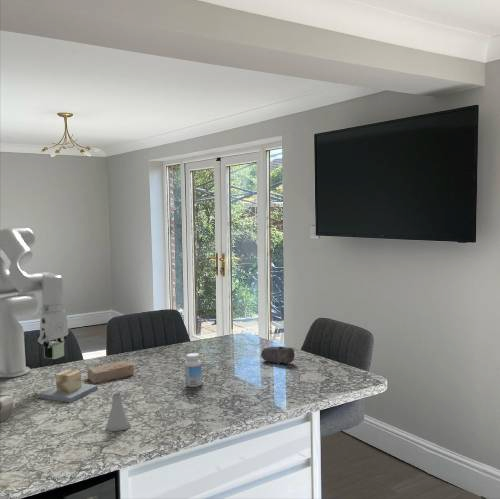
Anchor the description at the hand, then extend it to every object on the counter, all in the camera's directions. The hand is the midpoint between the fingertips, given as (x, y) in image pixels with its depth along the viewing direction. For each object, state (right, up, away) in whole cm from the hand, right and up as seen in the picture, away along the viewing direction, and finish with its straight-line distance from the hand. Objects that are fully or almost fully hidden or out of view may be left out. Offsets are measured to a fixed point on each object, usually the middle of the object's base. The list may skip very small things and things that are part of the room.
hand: (54, 355), depth 201 cm
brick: (+19, -11, +9) cm, 24 cm away
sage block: (0, -1, 0) cm, 1 cm away
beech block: (+9, -10, -10) cm, 17 cm away
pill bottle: (+53, -10, -4) cm, 54 cm away
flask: (+34, -14, -42) cm, 56 cm away
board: (+9, -12, -10) cm, 18 cm away
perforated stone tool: (+85, -8, +21) cm, 88 cm away
